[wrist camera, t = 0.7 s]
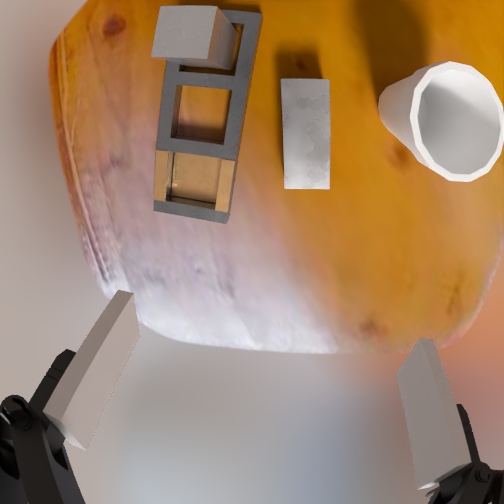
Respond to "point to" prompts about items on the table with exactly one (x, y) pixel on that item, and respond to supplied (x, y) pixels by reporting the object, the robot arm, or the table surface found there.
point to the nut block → (306, 133)
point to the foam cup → (446, 119)
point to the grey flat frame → (203, 150)
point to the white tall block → (195, 37)
